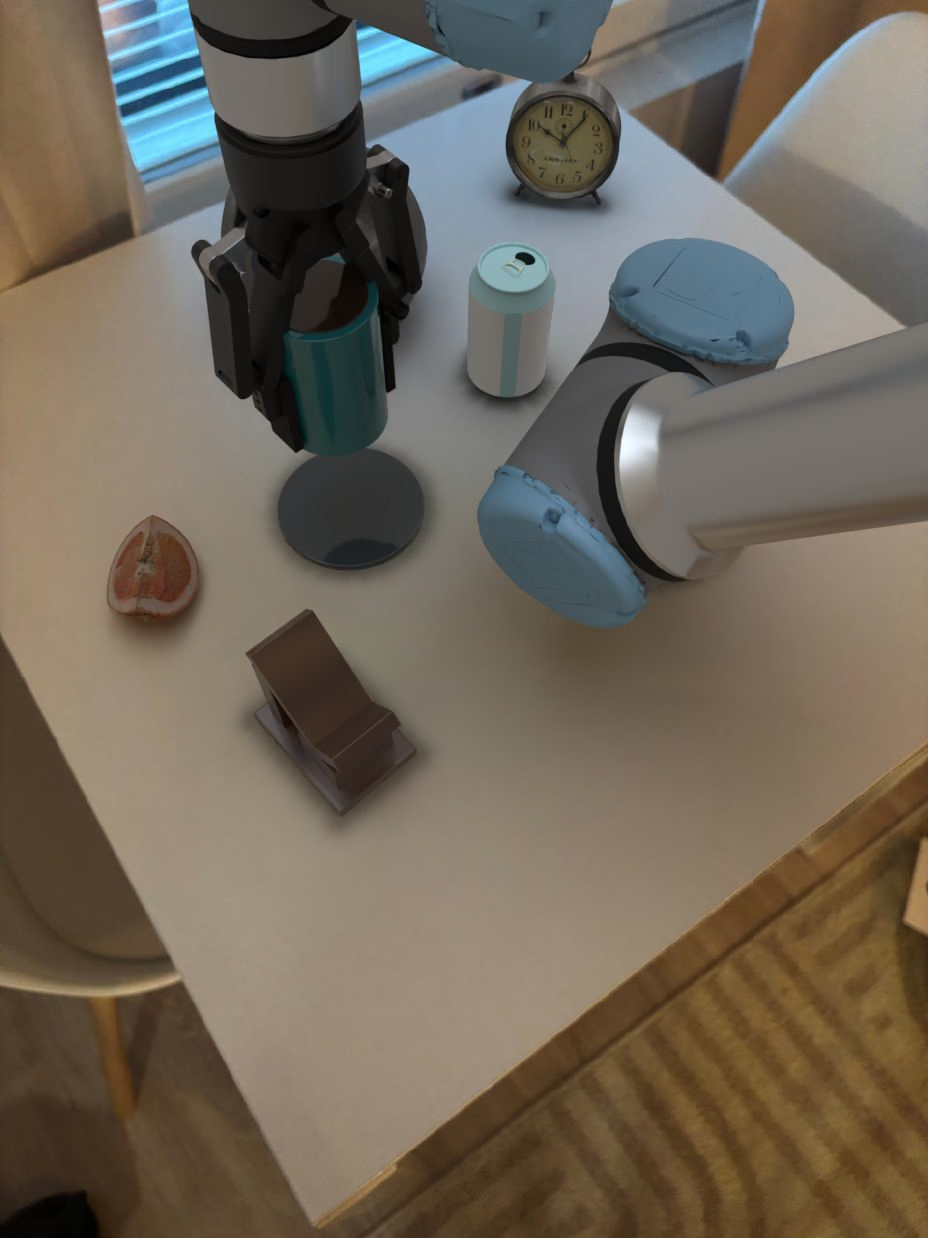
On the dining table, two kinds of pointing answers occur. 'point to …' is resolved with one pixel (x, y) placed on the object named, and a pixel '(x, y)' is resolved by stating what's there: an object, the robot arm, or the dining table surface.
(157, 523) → the fruit slice
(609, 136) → the alarm clock
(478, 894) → the dining table surface
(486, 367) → the can
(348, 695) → the cradle
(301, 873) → the dining table surface
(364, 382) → the cup
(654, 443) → the robot arm
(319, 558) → the coaster
